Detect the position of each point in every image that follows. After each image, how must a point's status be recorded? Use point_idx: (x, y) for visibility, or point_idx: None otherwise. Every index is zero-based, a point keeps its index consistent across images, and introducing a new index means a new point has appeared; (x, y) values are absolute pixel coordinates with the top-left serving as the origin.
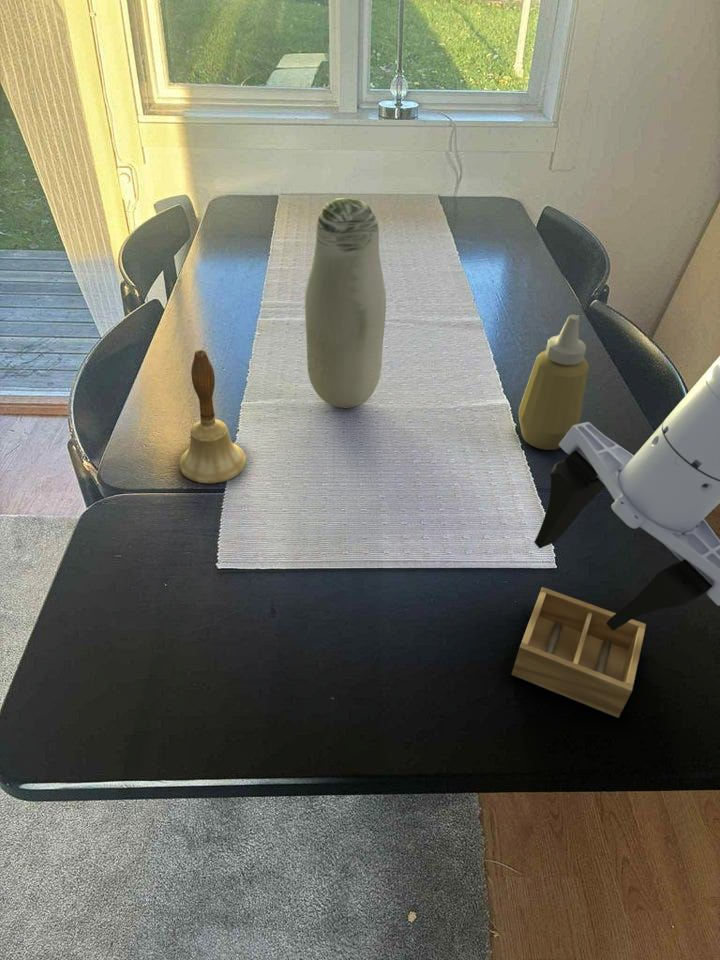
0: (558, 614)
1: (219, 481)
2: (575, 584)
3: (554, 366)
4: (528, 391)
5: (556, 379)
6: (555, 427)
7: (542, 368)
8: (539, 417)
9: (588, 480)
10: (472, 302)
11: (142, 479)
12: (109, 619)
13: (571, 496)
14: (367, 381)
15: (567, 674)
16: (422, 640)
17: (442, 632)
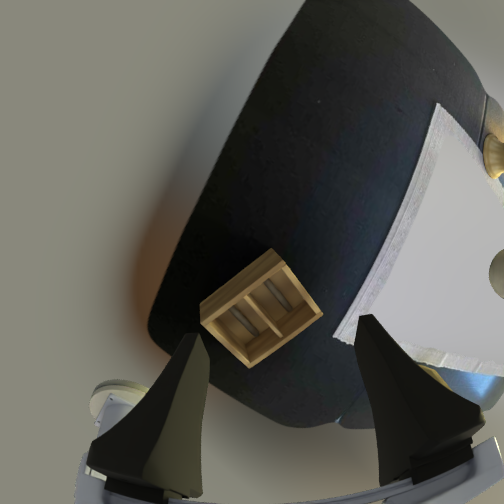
0: (296, 314)
1: (483, 149)
2: (313, 341)
3: None
4: (444, 384)
5: None
6: None
7: None
8: None
9: (418, 466)
10: (482, 372)
11: (491, 112)
12: (418, 32)
13: (421, 428)
14: (502, 283)
15: (241, 285)
16: (333, 196)
17: (332, 216)
